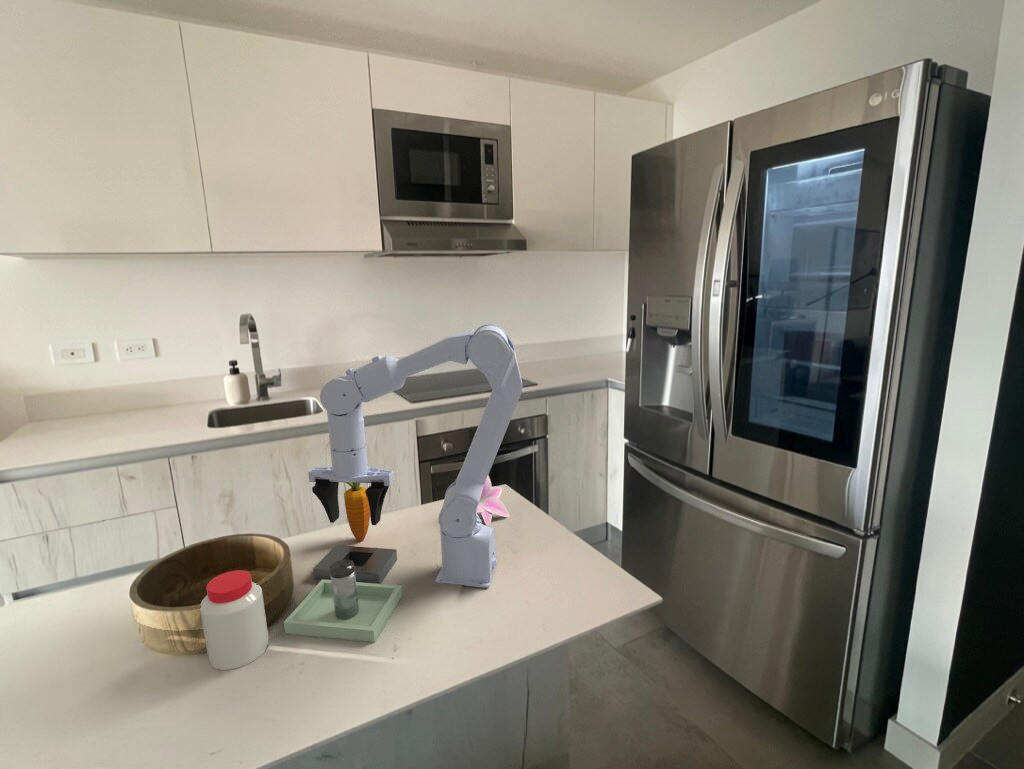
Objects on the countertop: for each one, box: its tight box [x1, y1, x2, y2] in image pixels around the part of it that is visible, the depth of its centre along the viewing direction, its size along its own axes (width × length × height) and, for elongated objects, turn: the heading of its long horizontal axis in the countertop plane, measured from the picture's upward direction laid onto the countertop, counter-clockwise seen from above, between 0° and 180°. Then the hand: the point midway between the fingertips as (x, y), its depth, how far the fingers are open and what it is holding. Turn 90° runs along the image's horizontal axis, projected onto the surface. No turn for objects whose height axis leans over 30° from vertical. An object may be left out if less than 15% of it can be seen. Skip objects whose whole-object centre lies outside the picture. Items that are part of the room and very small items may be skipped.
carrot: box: [343, 482, 371, 543], centre depth 102 cm, size 5×5×15 cm
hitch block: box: [312, 544, 398, 584], centre depth 93 cm, size 12×8×3 cm, turn 81°
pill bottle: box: [199, 569, 270, 671], centre depth 74 cm, size 8×8×11 cm
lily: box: [477, 475, 510, 527], centre depth 113 cm, size 12×12×10 cm
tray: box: [283, 579, 403, 644], centre depth 81 cm, size 14×11×2 cm
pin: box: [329, 559, 359, 620], centre depth 81 cm, size 4×4×8 cm
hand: (355, 521), depth 90 cm, fingers open, 7 cm apart
